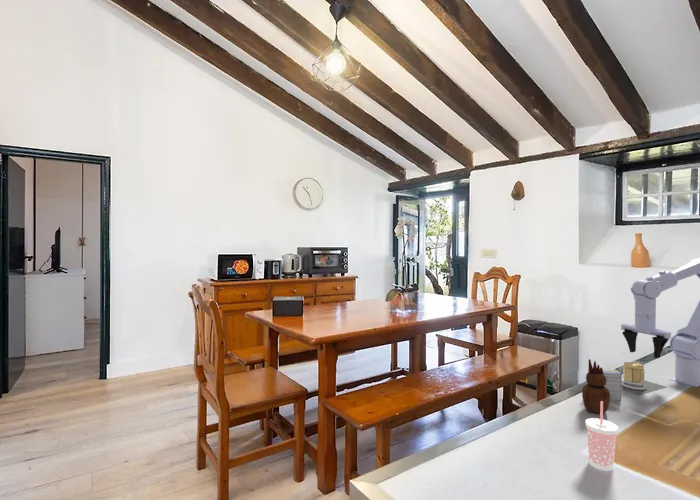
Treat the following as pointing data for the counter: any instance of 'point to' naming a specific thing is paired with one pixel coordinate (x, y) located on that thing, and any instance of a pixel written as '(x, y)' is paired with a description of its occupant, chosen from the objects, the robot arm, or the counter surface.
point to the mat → (650, 388)
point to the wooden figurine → (595, 390)
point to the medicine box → (613, 383)
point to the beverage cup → (601, 442)
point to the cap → (633, 372)
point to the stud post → (634, 385)
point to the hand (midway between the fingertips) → (644, 354)
